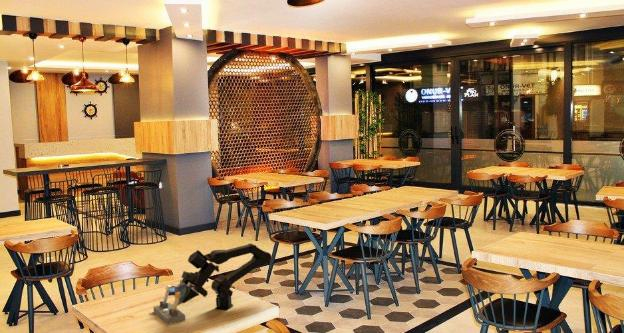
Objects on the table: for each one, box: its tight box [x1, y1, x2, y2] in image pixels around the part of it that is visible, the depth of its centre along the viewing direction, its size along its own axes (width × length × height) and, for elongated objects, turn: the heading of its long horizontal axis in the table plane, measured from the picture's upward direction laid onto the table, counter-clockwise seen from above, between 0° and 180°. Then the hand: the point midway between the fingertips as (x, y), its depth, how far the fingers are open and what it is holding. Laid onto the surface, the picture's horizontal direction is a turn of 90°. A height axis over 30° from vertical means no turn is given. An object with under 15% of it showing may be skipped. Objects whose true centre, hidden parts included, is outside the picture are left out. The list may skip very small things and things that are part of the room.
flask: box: [173, 279, 186, 305], centre depth 276 cm, size 9×3×11 cm, turn 146°
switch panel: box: [152, 300, 186, 325], centre depth 257 cm, size 20×8×5 cm, turn 34°
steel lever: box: [162, 284, 171, 304], centre depth 262 cm, size 3×3×10 cm
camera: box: [168, 285, 175, 296], centre depth 293 cm, size 12×11×7 cm
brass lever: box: [171, 292, 181, 313], centre depth 252 cm, size 3×3×10 cm
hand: (182, 302), depth 253 cm, fingers closed
